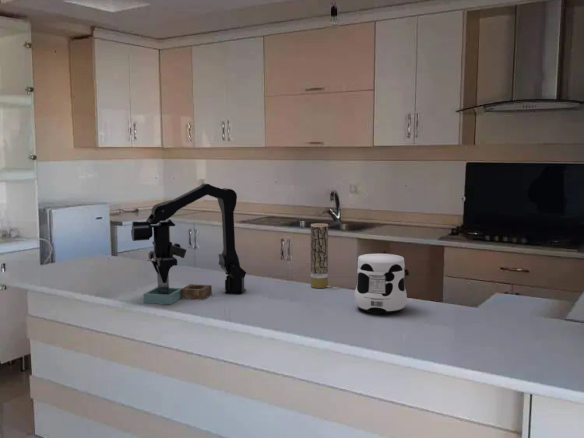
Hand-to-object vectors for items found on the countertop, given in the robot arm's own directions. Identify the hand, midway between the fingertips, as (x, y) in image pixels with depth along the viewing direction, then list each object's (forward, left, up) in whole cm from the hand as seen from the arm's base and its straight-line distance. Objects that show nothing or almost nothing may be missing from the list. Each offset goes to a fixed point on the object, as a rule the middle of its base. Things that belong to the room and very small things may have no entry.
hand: (163, 281), depth 205 cm
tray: (0, 0, -7) cm, 7 cm away
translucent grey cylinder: (0, 0, -4) cm, 4 cm away
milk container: (-78, -3, -7) cm, 78 cm away
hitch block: (-10, -7, -7) cm, 14 cm away
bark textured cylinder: (-52, -32, -7) cm, 61 cm away
